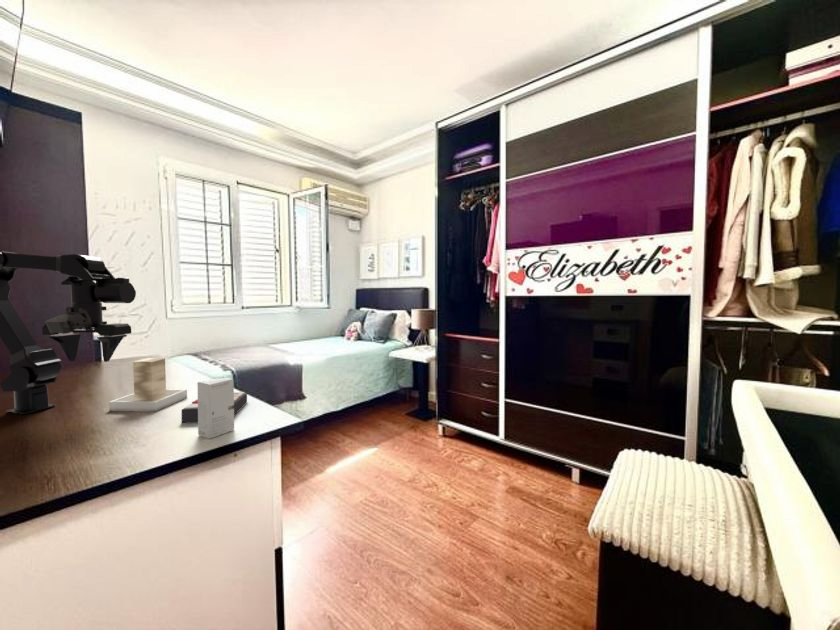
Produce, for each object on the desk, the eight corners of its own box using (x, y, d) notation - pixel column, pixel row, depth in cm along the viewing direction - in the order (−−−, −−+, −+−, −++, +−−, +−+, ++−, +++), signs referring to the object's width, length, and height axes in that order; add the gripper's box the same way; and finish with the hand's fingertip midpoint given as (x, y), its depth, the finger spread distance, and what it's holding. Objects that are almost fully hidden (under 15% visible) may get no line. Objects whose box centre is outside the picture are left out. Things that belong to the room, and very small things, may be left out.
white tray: (109, 410, 90) (109, 401, 90) (146, 396, 102) (146, 388, 102) (155, 411, 90) (154, 402, 89) (187, 397, 102) (186, 389, 102)
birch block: (134, 404, 93) (133, 361, 92) (149, 398, 98) (147, 358, 97) (152, 404, 93) (151, 361, 93) (166, 399, 98) (165, 358, 98)
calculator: (247, 390, 99) (230, 404, 84) (247, 405, 99) (230, 421, 84) (205, 392, 97) (180, 406, 82) (205, 407, 97) (180, 424, 82)
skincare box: (210, 439, 73) (208, 384, 73) (196, 435, 75) (195, 382, 74) (235, 429, 79) (235, 378, 78) (223, 426, 81) (222, 376, 80)
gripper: (15, 303, 81) (18, 367, 82) (92, 304, 81) (94, 368, 82) (64, 302, 92) (66, 358, 93) (132, 303, 92) (134, 359, 93)
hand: (89, 361), depth 90 cm, fingers open, 9 cm apart
